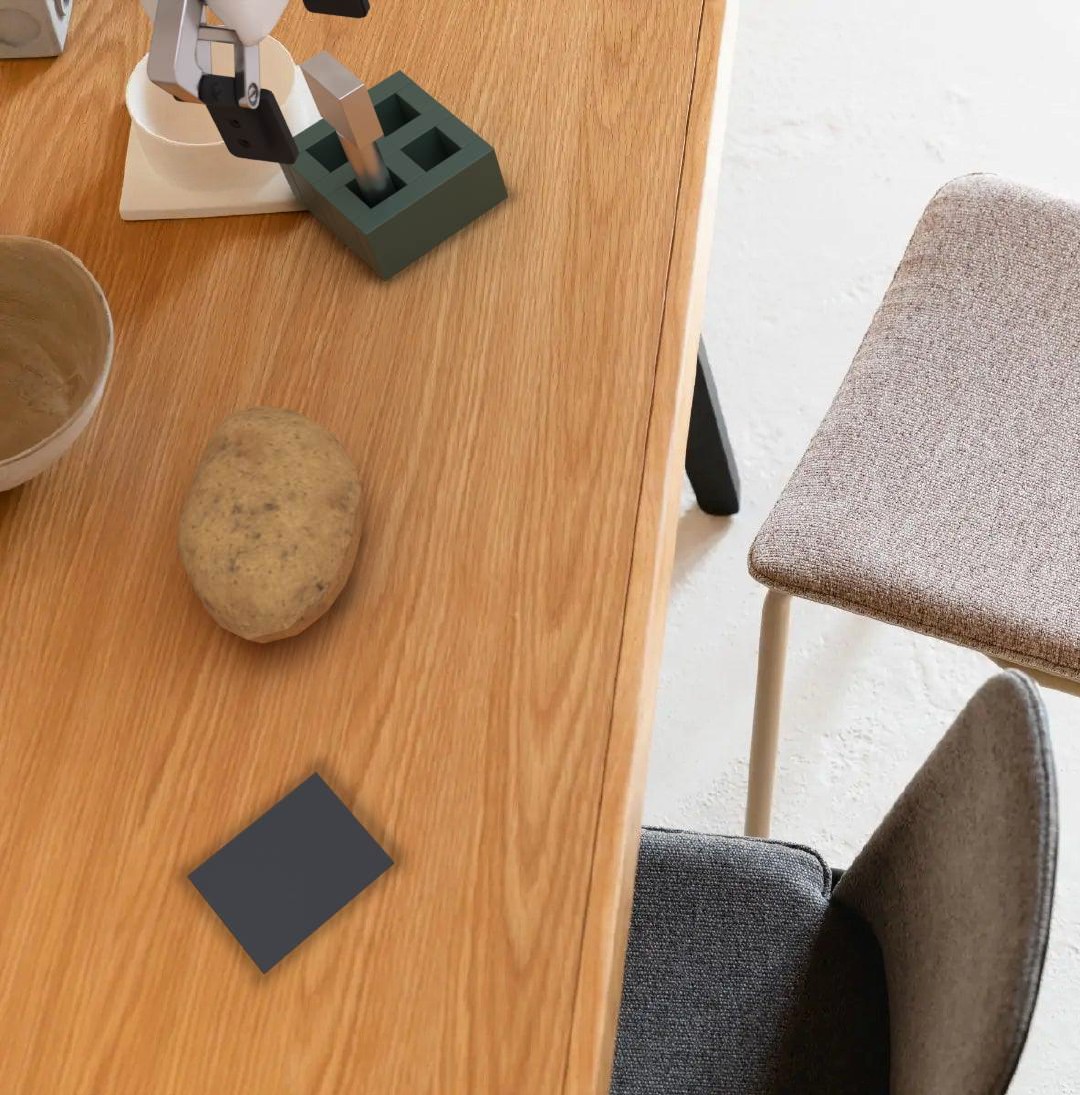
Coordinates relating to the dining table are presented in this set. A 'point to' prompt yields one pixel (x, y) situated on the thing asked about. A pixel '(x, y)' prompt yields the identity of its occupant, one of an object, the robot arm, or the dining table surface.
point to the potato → (271, 523)
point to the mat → (290, 871)
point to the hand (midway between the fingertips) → (304, 81)
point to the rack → (399, 178)
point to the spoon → (350, 122)
